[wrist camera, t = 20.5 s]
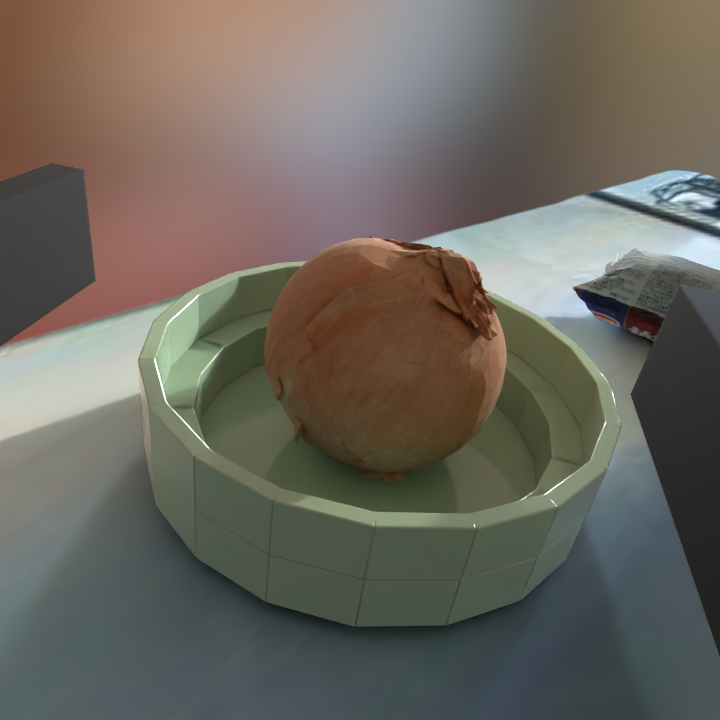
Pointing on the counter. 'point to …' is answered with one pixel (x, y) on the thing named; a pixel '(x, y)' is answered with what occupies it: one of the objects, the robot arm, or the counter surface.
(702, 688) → the counter surface
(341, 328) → the onion
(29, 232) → the robot arm
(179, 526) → the bowl
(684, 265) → the packaged food
